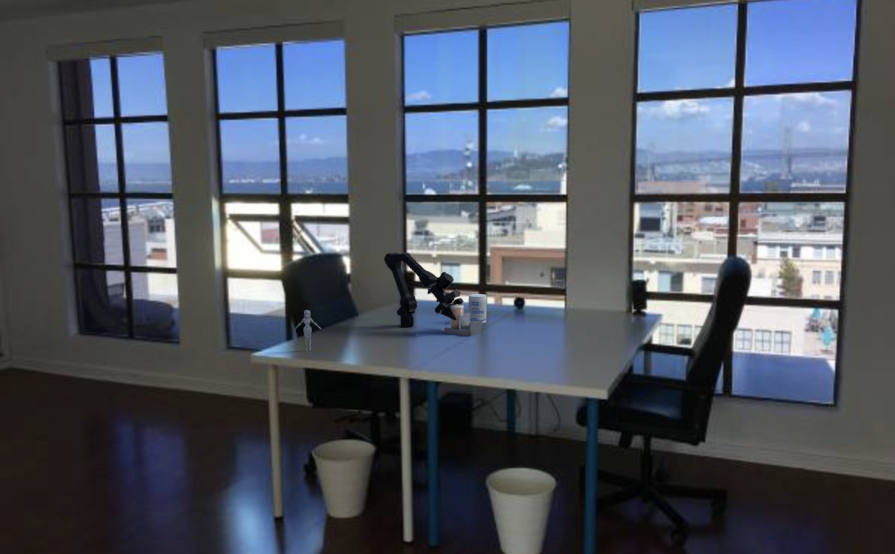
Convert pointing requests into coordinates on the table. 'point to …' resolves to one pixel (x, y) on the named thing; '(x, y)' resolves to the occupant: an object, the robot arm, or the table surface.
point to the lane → (473, 330)
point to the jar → (456, 315)
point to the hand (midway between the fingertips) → (459, 318)
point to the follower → (464, 321)
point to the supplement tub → (477, 307)
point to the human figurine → (307, 327)
